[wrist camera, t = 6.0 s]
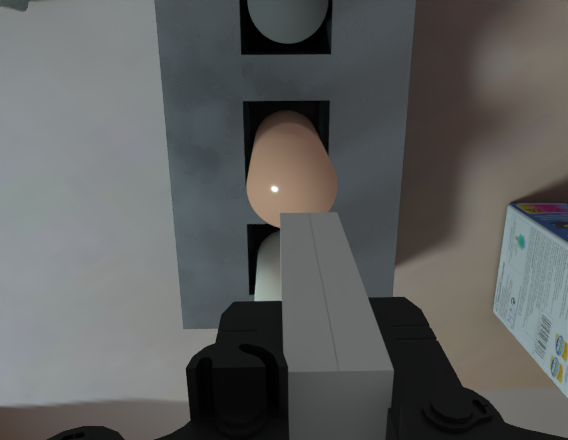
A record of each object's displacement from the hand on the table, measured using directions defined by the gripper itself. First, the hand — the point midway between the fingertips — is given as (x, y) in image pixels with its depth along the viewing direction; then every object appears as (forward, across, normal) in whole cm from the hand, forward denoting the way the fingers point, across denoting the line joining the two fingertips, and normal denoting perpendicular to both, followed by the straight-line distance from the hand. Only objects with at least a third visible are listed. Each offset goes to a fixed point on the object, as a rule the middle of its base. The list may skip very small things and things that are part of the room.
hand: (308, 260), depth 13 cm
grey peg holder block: (+24, 0, 0) cm, 24 cm away
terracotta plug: (+17, 0, 0) cm, 17 cm away
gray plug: (+23, 0, +7) cm, 24 cm away
